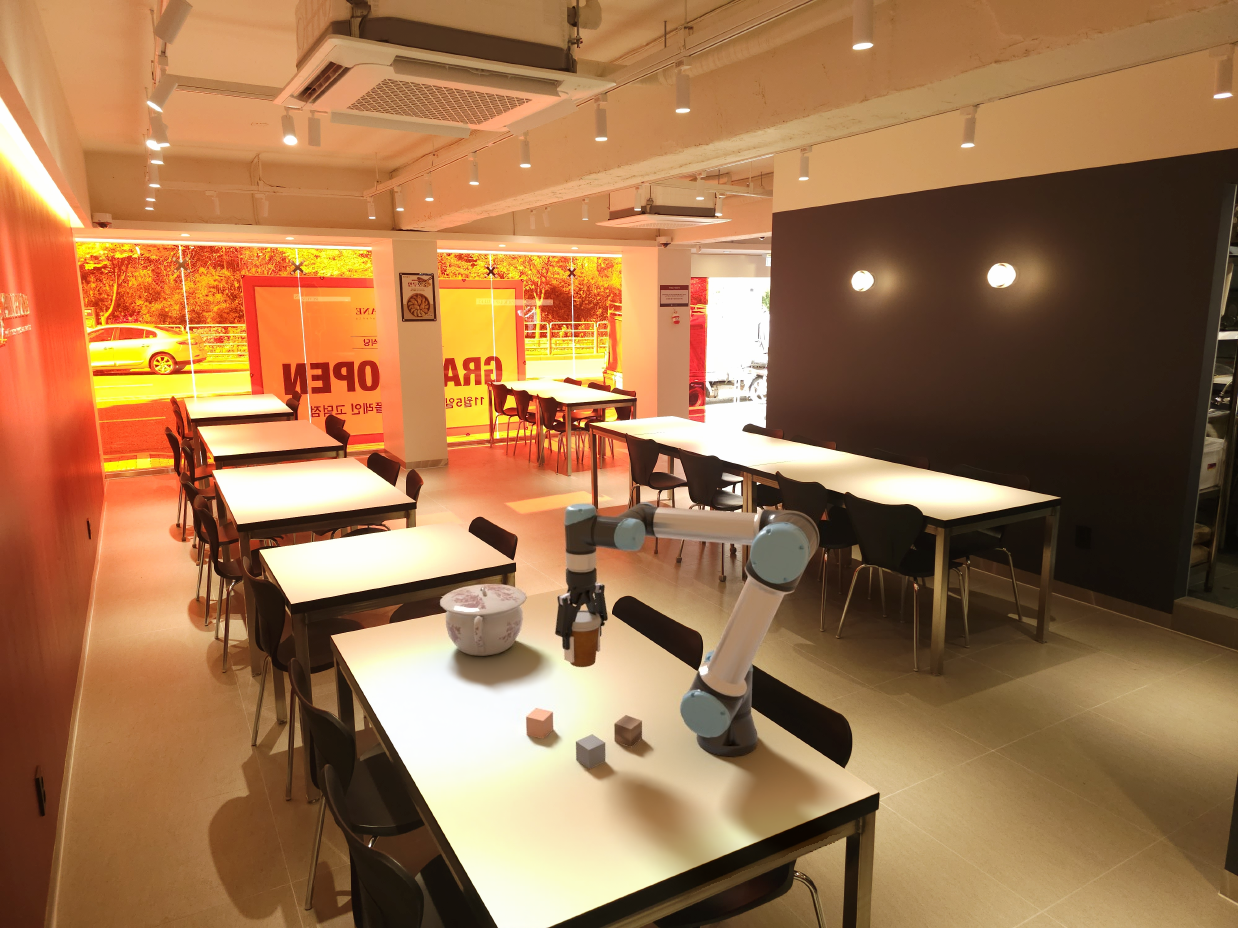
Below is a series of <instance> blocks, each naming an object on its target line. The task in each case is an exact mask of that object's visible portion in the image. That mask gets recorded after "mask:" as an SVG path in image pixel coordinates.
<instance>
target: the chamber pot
mask: <svg viewBox="0 0 1238 928" xmlns="http://www.w3.org/2000/svg"><path fill="white" fill-rule="evenodd" d="M527 599H528V597H527V594H526V592H525V591H523V590H522V589H520V588H519V587H516V586H512V585H507V584H501V583H500V584H497V583H496V584H495V583H485V584H484V583H483V584H474V585H468V586H463V587H459V588H457V589H454V590H452V591H449V592H448V593H446V594H444V596H442V598H440V600H439V602H440V603H439V605H440V607H442V609H443V610H445V611H446V613H445V626H446V631H447V634H448V637H449V639H450V640H451V641H452V642H453V644H454V646H455V647H456V648H457V649H458V650H459V651H460V652H462V653H464V654H466V655H470V656H480V657H487V656H492V655H493V656H494V655H496V654H497V655H498V654H500V653H503V652H505V651H507V650H508V649H510V648H511V647H513V644H514V643H515V641H516V640H517V638H518V636H519V634H520V633H521V630H522V625H523V620H524V614H523V613H524V612H523V608H522V605H524V604H525V602H526V600H527Z"/></svg>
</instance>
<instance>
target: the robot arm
mask: <svg viewBox="0 0 1238 928" xmlns="http://www.w3.org/2000/svg"><path fill="white" fill-rule="evenodd" d="M563 524H564V533H565V534H564V537H565V539H564V540H565V550H564V551H565V552H564V553H565V567H566V568H565V582H566V585H567V590H566V593H565V594H563V595H560V594H558V595H557V604H558V605H557V615H556V623H555V629H554V630H555V632H554V635H556V636H558V637H560V638H561V640H562V641H561V642H562V646H561V647H562V649H563V652H564V655H563V656H564V657H563V658H564V660H565V661H567V662H568V663H570V662H571V663H573V662H574V637H573V636H571V634H572V626H573V622H575V620H576V617H577V614H578V611H579V610H582V609H581V608H582V606H584V605H585V607H586V608H587V609H586V610H588V611H589V613H591V614H594V615H596V613H598V614H599V616H600V619H601V624H600V626H599V634H598V643H597V651H596V653H598V652H601V637H602V635H603V634H602V627H604V626H606V624H605V623H606V622H607V621H608V618H609V617H608V611H607V605H606V597H605V589H606V585H605V584H602V583H600V582H597V581H598V578H597V577H598V574H597V570H598V569H597V568H596V567H597V563H598V562H597V548H604V549H605V548H606V549H612V550H619V551H623V552H628V551H630V552H632V551H633V552H637V551H640V549H642V547H643V545H644V543H645V539H646V537H648V538H663V539H676V540H684V541H685V540H686V541H698V542H699V541H700V542H709V543H710V542H711V543H722V544H723V543H724V544H731V545H732V544H734V545H743V546H750V550H749V551H750V553H749V557H748V560H747V561H746V563H745V566H744V571H745V573H746V576H747V579H746V581H745V583H744V585H743V587H742V588H741V592H740V594H739V596H738V599H736V603H735V604H734V607H733V609H732V612H731V614H730V616H729V618H728V621H727V622H726V625H725V627H724V629H723V631H722V634H721V636H720V638H719V640H718V642H717V645H716V646H715V648H714V649H713V650H710V651H708V652H707V653H705V656H704V661H703V663H702V664H701V665H700V666H699V669H698V670H697V673H696V675H695V676H694V678H693V681H692V684H691V686H690V687H689V689H688V691H687V692H686V693H685V694H684V695H683V696H682V699H681V701H680V705H679V713H680V717H681V718H682V720H683V722H684V724H685V725H686V727H688V729H689V730H691V732H693V733H695V734H696V741H697V744H698V745H699V746H700V747H701V748H702V749H703V750H705V751H707V752H709V753H710V754H713V755H715V756H721V757H739V756H740V757H741V756H744V755H747V754H749V753H752V752H753V751H754V750H756V748H757V746H758V737H759V735H758V731H757V728H756V726H755V722H754V719H753V714H752V694H753V690H752V689H753V672H754V668H753V661H754V659H755V657H756V655H757V652H758V651H759V648H760V647H761V645H762V642H763V641H764V638H765V636H766V634H767V632H768V630H769V628H770V625H771V624H772V621H773V620H774V618H775V615H776V613H777V611H778V609H779V608H780V606H781V605H780V604H781V603H782V600H783V599H784V596H785V595H787V594H791V593H794V592H795V590H796V588H797V586H798V584H799V582H800V580H801V578H802V576H803V574H804V571H805V570H806V568H807V565H808V564H809V562H810V560H811V558H812V557H813V556H814V554H816V552H817V550H818V547H819V544H820V533H819V529H818V526H817V525H816V523H815V522H814V520H813V519H812V518H811V517H809V516H808V515H807V514H805V513H803V512H800V511H797V510H788V509H787V510H785V509H767V508H766V509H762V510H761V511H759V512H745V511H744V512H743V511H727V510H711V509H710V510H708V509H697V508H696V509H695V508H693V509H692V508H680V507H679V508H678V507H664V506H663V507H661V506H656V505H655V504H652V503H651V502H641V503H638V504H635V505H633V506H632V507H630V508H628V509H627V510H626V511H623V512H621V513H619V514H618V515H616V516H610V515H609V516H607V515H600V514H598V513H597V508H596V506H595V505H593V504H590V503H574V504H570V505H568V506H567V507H566V508H565V511H564V523H563ZM566 631H567V632H566ZM571 663H570V664H571Z"/></svg>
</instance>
